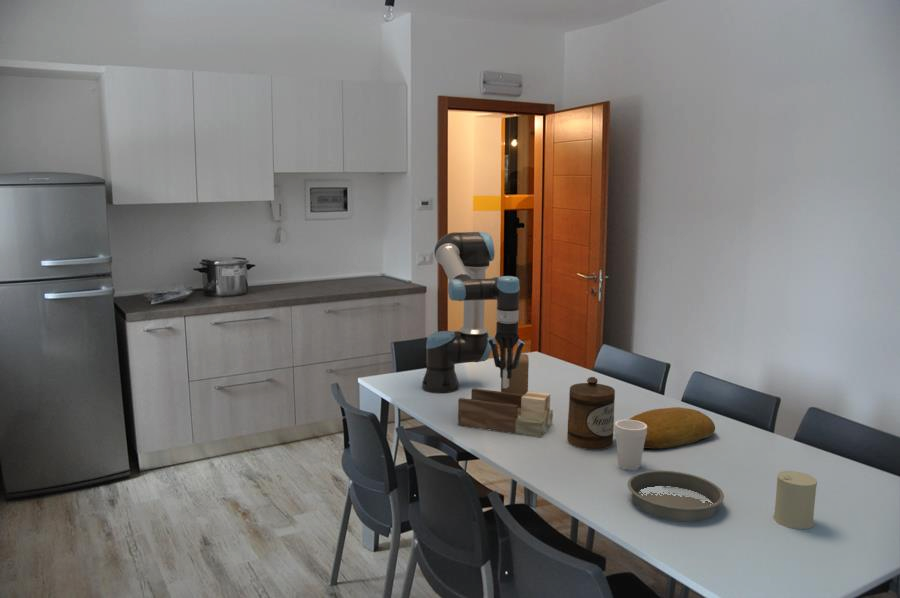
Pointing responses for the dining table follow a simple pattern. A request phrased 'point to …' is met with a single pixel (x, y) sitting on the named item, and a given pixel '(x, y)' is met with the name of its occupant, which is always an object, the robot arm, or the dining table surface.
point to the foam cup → (630, 442)
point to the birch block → (535, 405)
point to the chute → (499, 413)
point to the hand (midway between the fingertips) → (505, 387)
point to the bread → (674, 426)
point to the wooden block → (518, 376)
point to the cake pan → (675, 505)
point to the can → (795, 499)
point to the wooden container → (591, 415)
